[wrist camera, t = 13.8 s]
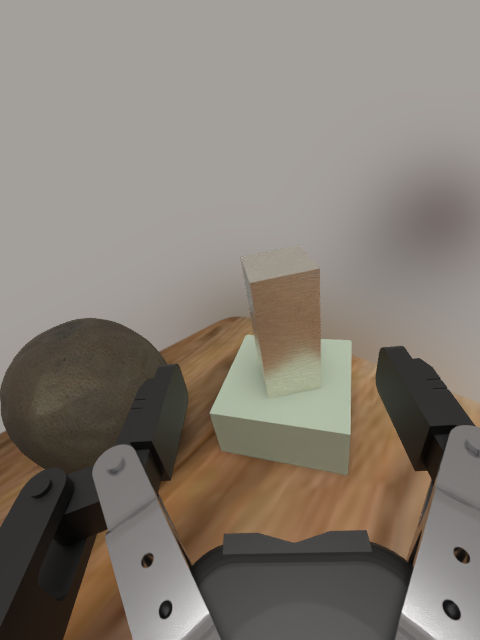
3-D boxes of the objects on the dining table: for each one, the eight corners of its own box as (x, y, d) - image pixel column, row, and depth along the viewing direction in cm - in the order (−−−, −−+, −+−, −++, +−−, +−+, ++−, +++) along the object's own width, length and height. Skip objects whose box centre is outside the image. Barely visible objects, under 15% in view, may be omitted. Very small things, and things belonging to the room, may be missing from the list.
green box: (221, 452, 31) (209, 413, 27) (252, 371, 40) (246, 334, 37) (347, 477, 27) (350, 434, 23) (349, 380, 36) (351, 340, 33)
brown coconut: (175, 381, 40) (137, 279, 32) (206, 473, 29) (158, 350, 21) (63, 425, 37) (-11, 323, 29) (46, 549, 25) (-85, 437, 17)
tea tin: (268, 398, 28) (249, 283, 21) (258, 363, 32) (240, 256, 25) (321, 387, 28) (319, 268, 21) (304, 353, 32) (298, 245, 25)
